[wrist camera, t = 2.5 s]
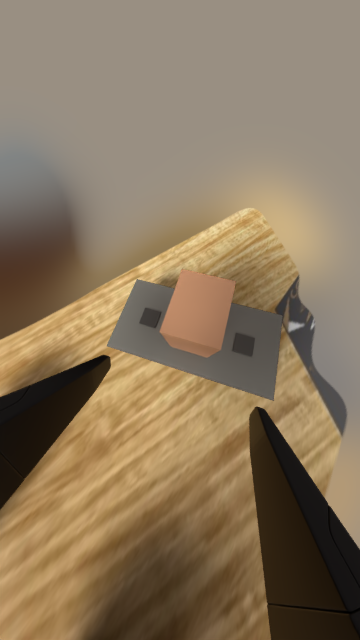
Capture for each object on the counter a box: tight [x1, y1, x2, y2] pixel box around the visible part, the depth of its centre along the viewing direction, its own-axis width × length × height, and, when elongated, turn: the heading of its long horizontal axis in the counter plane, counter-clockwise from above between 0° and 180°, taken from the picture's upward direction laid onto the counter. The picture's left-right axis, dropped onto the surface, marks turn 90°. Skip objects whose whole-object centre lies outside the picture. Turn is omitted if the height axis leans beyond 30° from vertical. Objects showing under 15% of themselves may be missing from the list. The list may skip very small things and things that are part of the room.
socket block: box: [107, 279, 283, 401], centre depth 19 cm, size 9×18×5 cm, turn 73°
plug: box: [160, 269, 236, 358], centre depth 15 cm, size 5×4×11 cm
